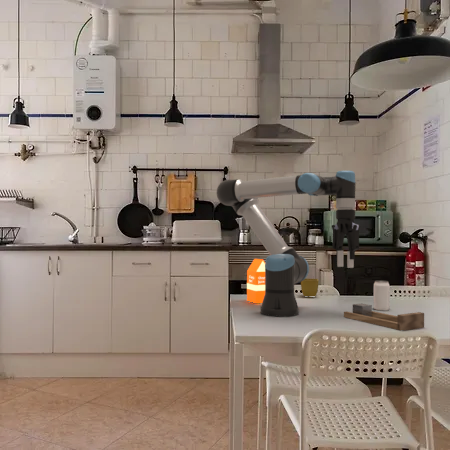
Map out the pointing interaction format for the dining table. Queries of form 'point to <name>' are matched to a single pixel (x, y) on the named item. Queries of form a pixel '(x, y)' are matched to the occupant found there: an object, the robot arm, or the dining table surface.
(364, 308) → the block
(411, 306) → the dining table surface
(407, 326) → the oak track
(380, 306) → the can
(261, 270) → the orange juice
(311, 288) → the flower pot
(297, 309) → the robot arm
